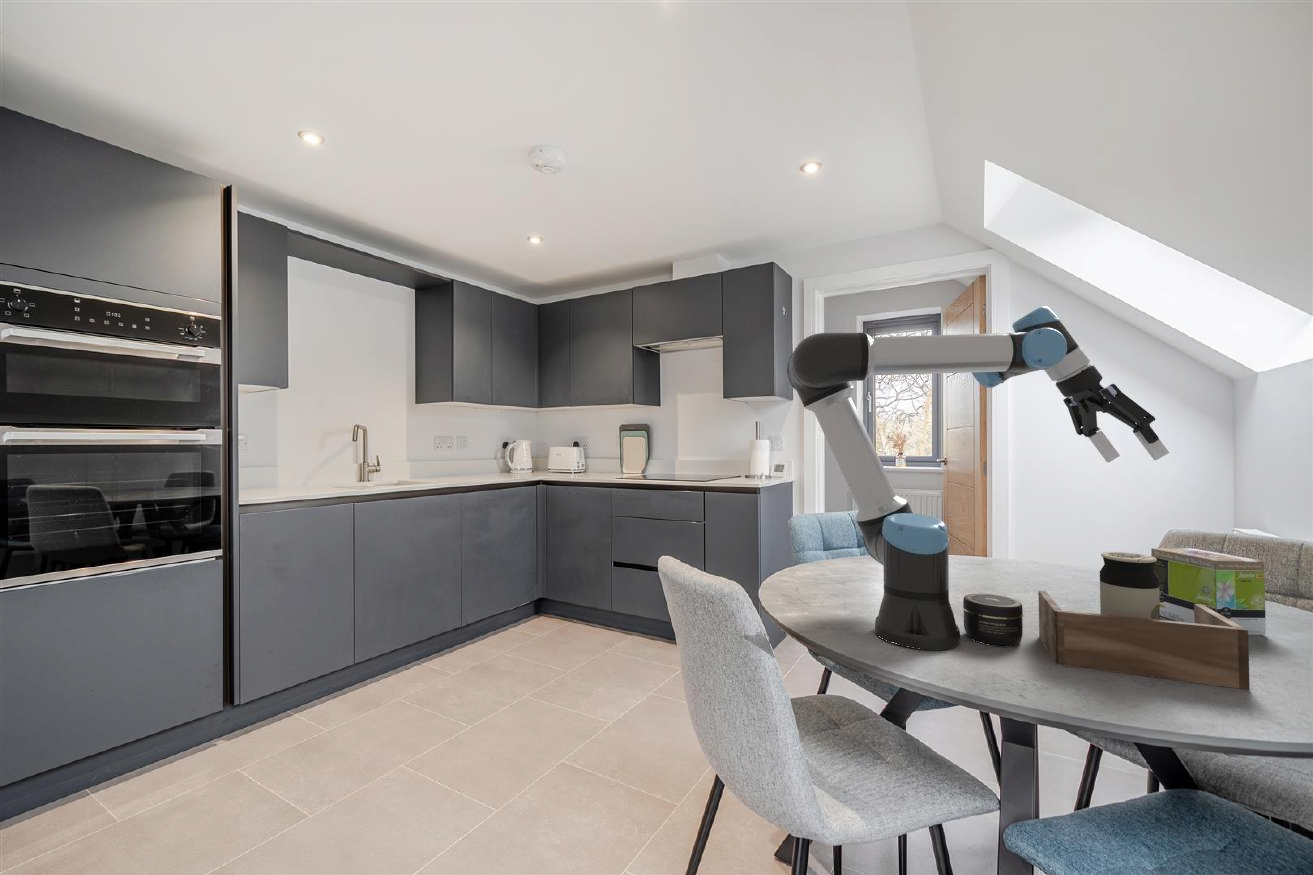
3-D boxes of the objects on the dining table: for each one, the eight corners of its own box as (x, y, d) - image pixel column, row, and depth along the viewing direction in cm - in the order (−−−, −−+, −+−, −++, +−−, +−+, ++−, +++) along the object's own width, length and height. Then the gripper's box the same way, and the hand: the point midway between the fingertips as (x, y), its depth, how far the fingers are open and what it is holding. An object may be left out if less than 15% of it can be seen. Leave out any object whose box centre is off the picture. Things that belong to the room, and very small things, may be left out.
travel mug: (1090, 654, 100) (1088, 553, 101) (1119, 648, 103) (1117, 550, 104) (1142, 670, 93) (1140, 561, 93) (1171, 663, 96) (1169, 558, 96)
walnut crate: (1039, 636, 110) (1038, 590, 110) (1204, 655, 99) (1203, 604, 99) (1056, 664, 96) (1055, 611, 96) (1249, 689, 85) (1248, 630, 86)
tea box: (1268, 636, 109) (1267, 560, 109) (1216, 636, 109) (1214, 560, 110) (1196, 613, 124) (1194, 546, 125) (1150, 613, 124) (1148, 546, 125)
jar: (964, 627, 116) (963, 590, 116) (1022, 635, 111) (1021, 596, 111) (962, 642, 107) (961, 602, 107) (1024, 651, 102) (1024, 609, 102)
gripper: (1130, 349, 106) (1203, 444, 103) (1053, 374, 131) (1111, 451, 128) (1095, 371, 107) (1167, 465, 104) (1025, 391, 131) (1082, 468, 129)
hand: (1136, 458), depth 116 cm, fingers open, 13 cm apart
